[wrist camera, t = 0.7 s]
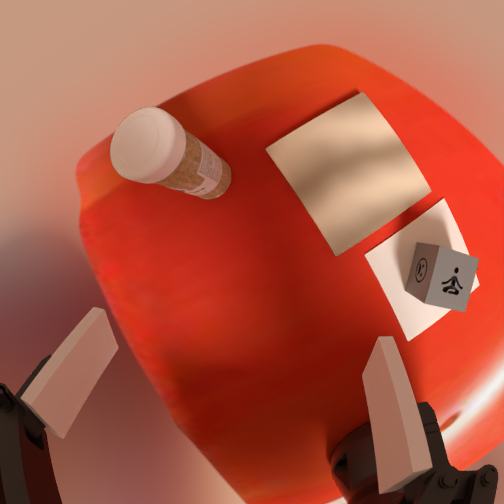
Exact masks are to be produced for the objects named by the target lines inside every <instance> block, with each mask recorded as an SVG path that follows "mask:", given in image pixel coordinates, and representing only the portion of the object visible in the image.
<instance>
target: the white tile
mask: <svg viewBox="0 0 504 504" xmlns="http://www.w3.org/2000/svg"><path fill="white" fill-rule="evenodd" d="M417 242H420V243H427V244H433V245H439V246H443V247H446V248H449V249H452V250H455V251H458V252H461V253H464V254H467V255H469V253H468V251H467V248H466V245H465V243H464V240H463V238H462V236H461V233H460V231H459V229H458V226H457V224H456V222H455V220H454V218H453V216H452V213H451V211H450V209H449V207H448V205H447V203H446V201H445V199H444V198H443V199H442V200H441V201H439V202H438V203H437V204H435V205H434V206H433V207H431V208H430V209H429V210H427V211H426V212H425V213H423V214H422V215H421V216H419V217H418V218H416V219H415V220H414V221H412V222H411V223H410V224H408V225H407V226H405V227H404V228H403V229H401V230H400V231H398V232H397V233H395V234H394V235H393V236H391V237H390V238H388V239H387V240H385V241H384V242H383V243H381V244H380V245H378V246H377V247H375V248H374V249H372V250H371V251H369V252H368V253H366V254H365V257H366V259H367V261H368V263H369V264H370V266H371V268H372V270H373V272H374V274H375V275H376V277H377V279H378V281H379V283H380V285H381V287H382V289H383V291H384V293H385V294H386V296H387V298H388V300H389V302H390V304H391V306H392V309H393V311H394V313H395V315H396V317H397V319H398V321H399V323H400V325H401V327H402V330H403V332H404V334H405V336H406V338H407V341H410V340H411V339H413V338H414V337H415V336H417V335H418V334H420V333H421V332H422V331H424V330H425V329H427V328H428V327H429V326H431V325H432V324H433V323H435V322H436V321H437V320H439V319H440V318H441V317H442V316H444V315H445V314H446V313H447V312H449V311H450V310H451V309H447V308H442V307H438V306H433V305H428V304H424V303H423V302H421V301H420V300H418V299H417V298H415V297H414V296H412V295H411V294H409V293H408V292H406V291H405V287H406V284H407V280H408V277H409V273H410V269H411V265H412V261H413V257H414V252H415V248H416V243H417ZM478 286H479V282H478V279H477V276H476V274H475V278H474V282H473V286H472V289H471V292H472V291H473V290H474V289H476V288H477V287H478Z"/></svg>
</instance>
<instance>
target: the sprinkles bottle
mask: <svg viewBox="0 0 504 504" xmlns="http://www.w3.org/2000/svg"><path fill="white" fill-rule="evenodd" d="M110 156H111V161H112V164H113V167H114V168H115V170H116V171H117V172H118V174H120V175H121V176H122V177H124V178H126V179H129V180H132V181H135V182H140V183H145V184H150V183H156V184H159V185H163V186H166V187H168V188H171V189H174V190H178V191H181V192H184V193H187V194H191V195H196V196H198V197H199V198H202V199H214V198H217V197H220V196H221V195H222V194H224V193H225V191H226V190H227V189H228V187H229V185H230V183H231V169H230V167H229V165H228V164H227V163H226V162H225V161H224V160H223V159H222V158H220V157H218V156H217V155H216V154H215V153H214V152H213V151H212V150H211V149H210V148H208V147H207V146H206V145H205V144H204V143H202V142H201V141H200V140H199V139H197V138H196V137H195V136H194V135H192V134H190V133H188V132H187V131H186V130H185V129H183V127H182V125H181V124H180V123H179V122H178V121H177V120H176V119H175V118H174V117H173V116H171V115H170V114H169V113H167V112H166V111H164V110H162V109H160V108H156V107H145V108H141V109H139V110H136V111H134V112H133V113H131V114H130V115H128V117H126V118H125V119H124V120H123V121H122V122H121V123H120V125H119V126H118V128H117V130H116V131H115V133H114V136H113V138H112V142H111V148H110Z"/></svg>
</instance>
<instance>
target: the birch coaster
mask: <svg viewBox="0 0 504 504" xmlns="http://www.w3.org/2000/svg"><path fill="white" fill-rule="evenodd" d="M266 152H267V153H268V154H269V156H270V157H271V159H272V160H273V161H274V163H275V164H276V166H277V167H278V168H279V170H280V171H281V173H282V174H283V176H284V177H285V179H286V180H287V181H288V183H289V184H290V186H291V187H292V189H293V190H294V192H295V193H296V195H297V196H298V198H299V199H300V201H301V202H302V204H303V205H304V207H305V208H306V210H307V211H308V213H309V215H310V216H311V218H312V219H313V221H314V222H315V224H316V225H317V227H318V229H319V230H320V232H321V233H322V235H323V237H324V238H325V240H326V242H327V243H328V245H329V246H330V248H331V250H332V251H333V253H334V255H335V256H336V257H337V256H338V255H340V254H341V253H343V252H344V251H346V250H348V249H349V248H351V247H352V246H354V245H355V244H357V243H358V242H360V241H361V240H363V239H364V238H366V237H367V236H369V235H370V234H372V233H373V232H375V231H376V230H378V229H379V228H381V227H382V226H383V225H385V224H386V223H388V222H389V221H391V220H392V219H394V218H395V217H397V216H398V215H399V214H401V213H402V212H404V211H405V210H406V209H408V208H409V207H411V206H412V205H414V204H415V203H416V202H418V201H419V200H420V199H422V198H423V197H425V196H426V195H427V194H429V193H430V192H431V189H430V187H429V186H428V184H427V182H426V180H425V179H424V177H423V175H422V173H421V172H420V170H419V168H418V167H417V165H416V164H415V162H414V160H413V159H412V157H411V156H410V154H409V153H408V151H407V149H406V148H405V146H404V145H403V143H402V142H401V141H400V139H399V138H398V136H397V135H396V133H395V132H394V131H393V129H392V128H391V126H390V125H389V124H388V122H387V121H386V120H385V118H384V117H383V116H382V115H381V113H380V112H379V111H378V109H377V108H376V107H375V106H374V104H373V103H372V102H371V101H370V100H369V98H368V97H367V96H366V95H365V94H364V92H362V93H360V94H358V95H356V96H354V97H352V98H350V99H348V100H347V101H345V102H343V103H341V104H339V105H337V106H336V107H334V108H332V109H330V110H328V111H327V112H325V113H323V114H321V115H320V116H318V117H316V118H314V119H313V120H311V121H309V122H308V123H306V124H304V125H303V126H301V127H299V128H298V129H296V130H294V131H293V132H291V133H289V134H288V135H286V136H284V137H283V138H281V139H280V140H278V141H277V142H275V143H273V144H272V145H270V146H269V147H267V148H266Z"/></svg>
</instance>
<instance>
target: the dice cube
mask: <svg viewBox="0 0 504 504" xmlns="http://www.w3.org/2000/svg"><path fill="white" fill-rule="evenodd" d="M478 261H479V258H476V257H473V256H470V255H467V254H464V253H461V252H458V251H455V250H452V249H449V248H446V247H443V246H439V245H433V244H427V243H420V242H417V243H416V248H415V252H414V257H413V261H412V265H411V269H410V273H409V277H408V280H407V284H406V287H405V291H406V292H408V293H409V294H411V295H412V296H414V297H415V298H417V299H418V300H420V301H421V302H423V303H424V304H428V305H433V306H438V307H442V308H447V309H452V310H457V311H461V312H465V309H466V306H467V303H468V300H469V296H470V293H471V289H472V286H473V282H474V278H475V274H476V270H477V266H478Z"/></svg>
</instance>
